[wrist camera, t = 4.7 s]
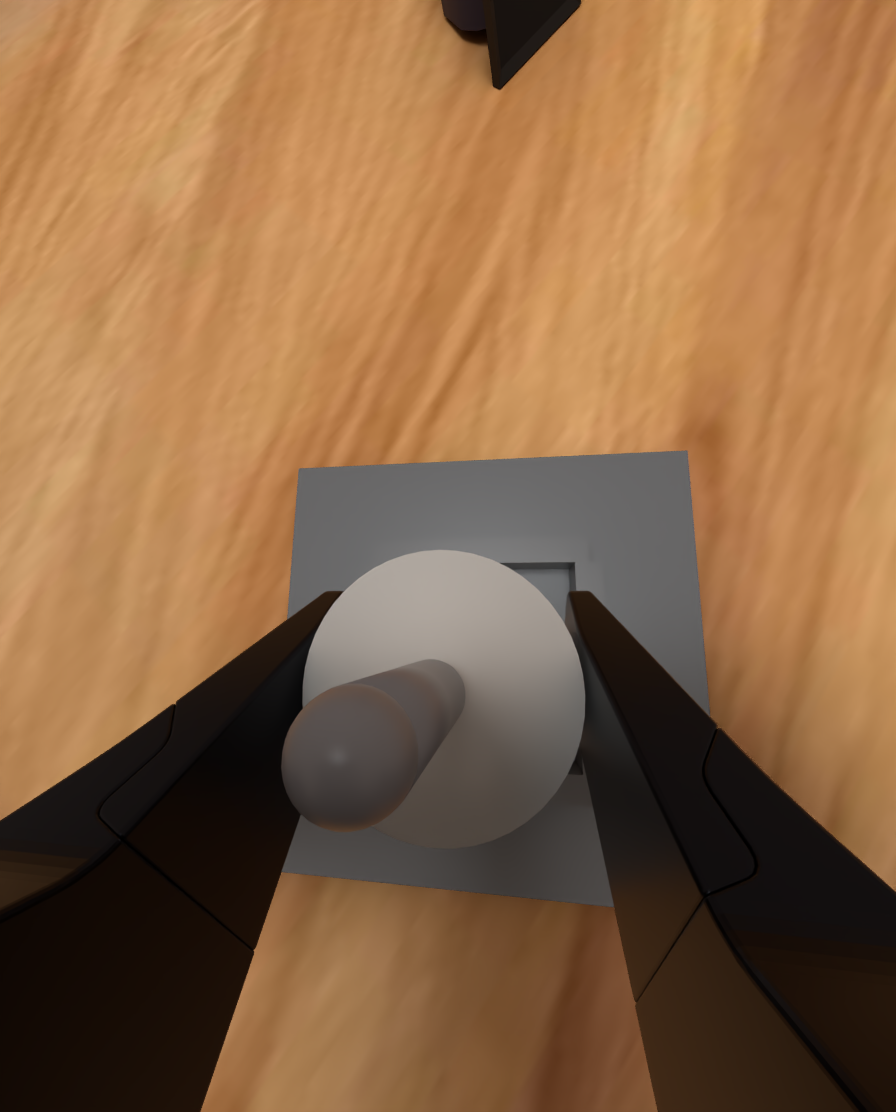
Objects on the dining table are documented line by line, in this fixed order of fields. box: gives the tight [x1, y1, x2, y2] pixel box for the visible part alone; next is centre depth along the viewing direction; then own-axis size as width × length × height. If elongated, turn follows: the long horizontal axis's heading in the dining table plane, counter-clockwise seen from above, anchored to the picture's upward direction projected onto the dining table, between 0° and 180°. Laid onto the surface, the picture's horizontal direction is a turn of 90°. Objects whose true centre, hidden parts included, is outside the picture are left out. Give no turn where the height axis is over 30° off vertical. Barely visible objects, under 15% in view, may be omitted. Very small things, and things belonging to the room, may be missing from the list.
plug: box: [281, 550, 585, 849], centre depth 9 cm, size 4×4×12 cm
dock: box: [282, 451, 710, 907], centre depth 14 cm, size 14×14×2 cm
